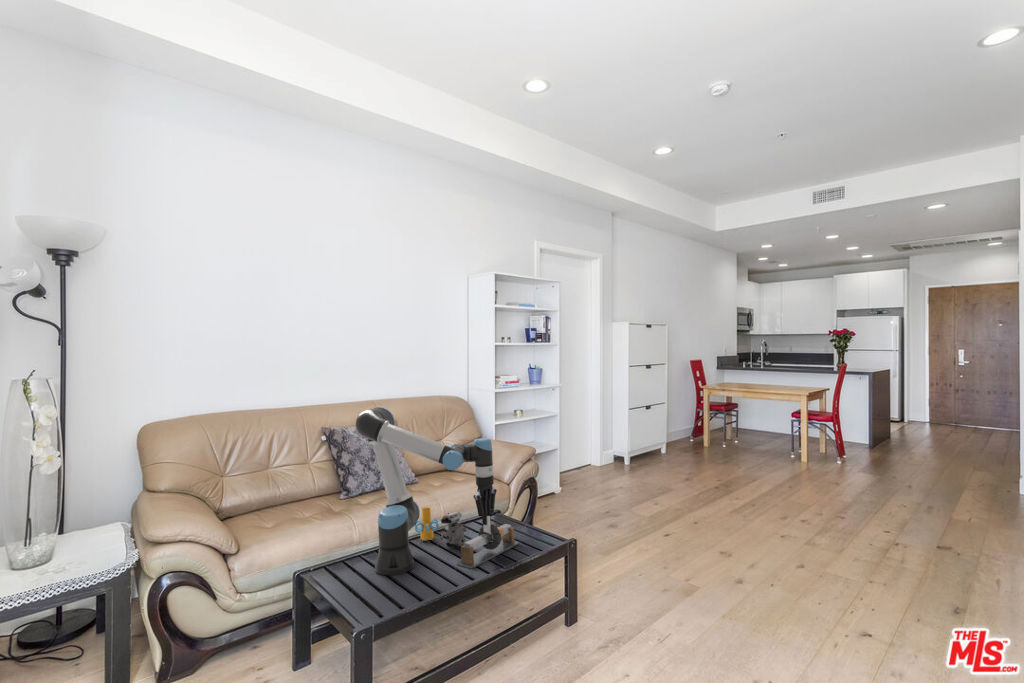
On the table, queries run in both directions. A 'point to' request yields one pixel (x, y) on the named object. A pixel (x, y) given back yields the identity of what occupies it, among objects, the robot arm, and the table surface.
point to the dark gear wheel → (496, 537)
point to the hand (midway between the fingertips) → (487, 531)
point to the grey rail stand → (476, 559)
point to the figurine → (453, 529)
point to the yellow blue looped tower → (426, 524)
